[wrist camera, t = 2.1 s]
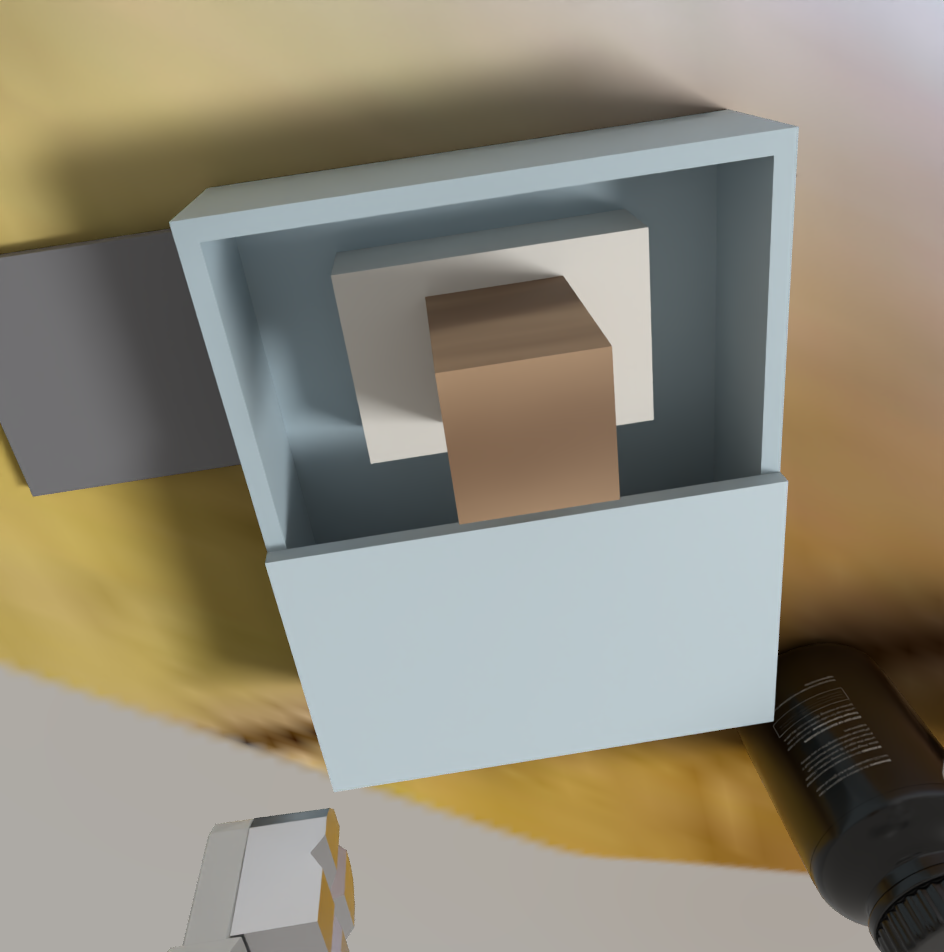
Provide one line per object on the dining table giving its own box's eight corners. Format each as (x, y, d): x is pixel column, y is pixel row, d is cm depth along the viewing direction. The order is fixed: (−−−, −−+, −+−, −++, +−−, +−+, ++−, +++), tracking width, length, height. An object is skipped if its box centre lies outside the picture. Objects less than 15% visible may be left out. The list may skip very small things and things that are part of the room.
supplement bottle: (723, 759, 39) (847, 1029, 28) (739, 644, 36) (884, 902, 25) (866, 744, 39) (1040, 1006, 29) (894, 629, 36) (1102, 877, 26)
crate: (207, 188, 25) (163, 226, 20) (728, 109, 26) (809, 129, 21) (342, 684, 35) (333, 791, 30) (719, 623, 35) (773, 721, 30)
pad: (-59, 263, 26) (-69, 268, 25) (200, 224, 26) (196, 228, 25) (39, 488, 30) (33, 496, 29) (264, 453, 30) (262, 461, 29)
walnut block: (424, 296, 24) (434, 372, 19) (563, 275, 24) (612, 345, 19) (445, 422, 26) (459, 524, 21) (573, 403, 26) (620, 499, 21)
